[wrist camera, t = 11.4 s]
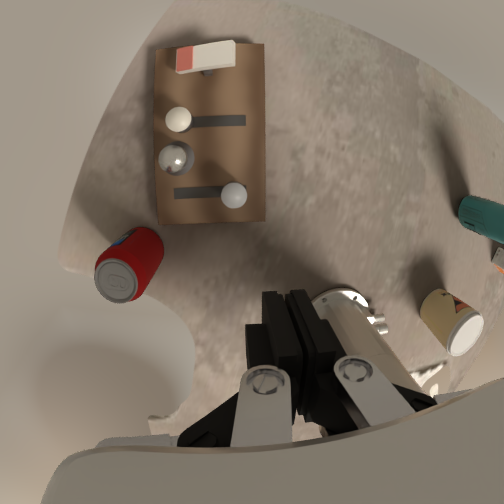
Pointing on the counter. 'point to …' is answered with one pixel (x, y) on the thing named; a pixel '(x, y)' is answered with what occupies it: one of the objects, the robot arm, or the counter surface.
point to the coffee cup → (451, 321)
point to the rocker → (205, 57)
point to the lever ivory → (179, 120)
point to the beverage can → (128, 265)
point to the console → (212, 138)
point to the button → (173, 158)
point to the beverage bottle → (483, 217)
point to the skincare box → (499, 260)
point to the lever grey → (234, 194)
